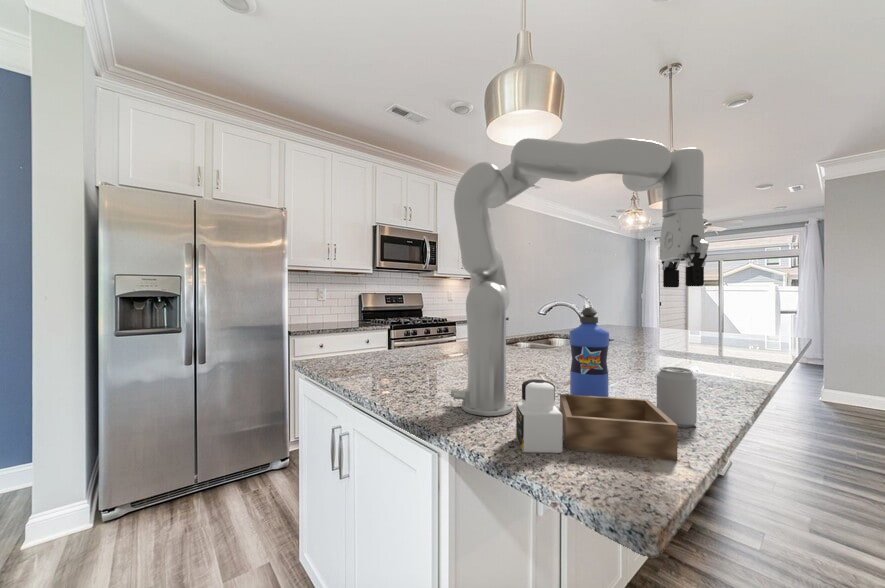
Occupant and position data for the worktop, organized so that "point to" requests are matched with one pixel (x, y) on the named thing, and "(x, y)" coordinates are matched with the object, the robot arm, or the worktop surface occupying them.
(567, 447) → the crate
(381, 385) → the worktop surface
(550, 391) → the medicine bottle
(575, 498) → the worktop surface
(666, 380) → the can
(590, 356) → the water bottle
